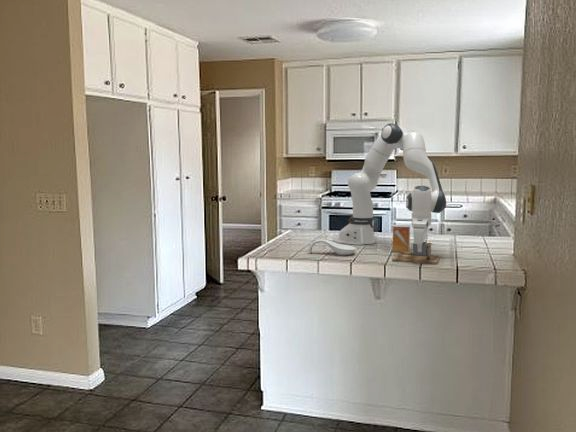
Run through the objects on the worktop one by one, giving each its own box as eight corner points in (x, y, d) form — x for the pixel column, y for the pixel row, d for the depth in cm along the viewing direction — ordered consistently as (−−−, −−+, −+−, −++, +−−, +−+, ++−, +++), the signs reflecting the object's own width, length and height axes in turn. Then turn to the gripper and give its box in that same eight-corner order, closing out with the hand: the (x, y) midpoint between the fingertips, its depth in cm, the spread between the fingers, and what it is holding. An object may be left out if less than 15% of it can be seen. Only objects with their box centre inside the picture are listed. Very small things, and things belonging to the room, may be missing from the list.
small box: (392, 251, 263) (392, 226, 261) (393, 249, 269) (394, 224, 267) (408, 252, 260) (409, 226, 259) (409, 250, 266) (410, 225, 265)
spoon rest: (356, 252, 262) (356, 238, 261) (355, 257, 251) (355, 242, 250) (310, 251, 266) (310, 237, 265) (307, 256, 255) (307, 241, 254)
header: (392, 261, 240) (392, 244, 239) (397, 255, 254) (397, 239, 253) (437, 264, 233) (437, 247, 232) (439, 257, 247) (440, 241, 246)
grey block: (413, 256, 241) (412, 244, 241) (414, 254, 246) (413, 242, 245) (427, 256, 239) (426, 243, 239) (428, 254, 244) (427, 241, 243)
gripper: (417, 218, 251) (416, 246, 253) (411, 223, 232) (410, 254, 234) (430, 218, 249) (429, 247, 251) (425, 224, 230) (425, 255, 232)
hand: (420, 250), depth 242 cm, fingers closed on grey block, 5 cm apart
